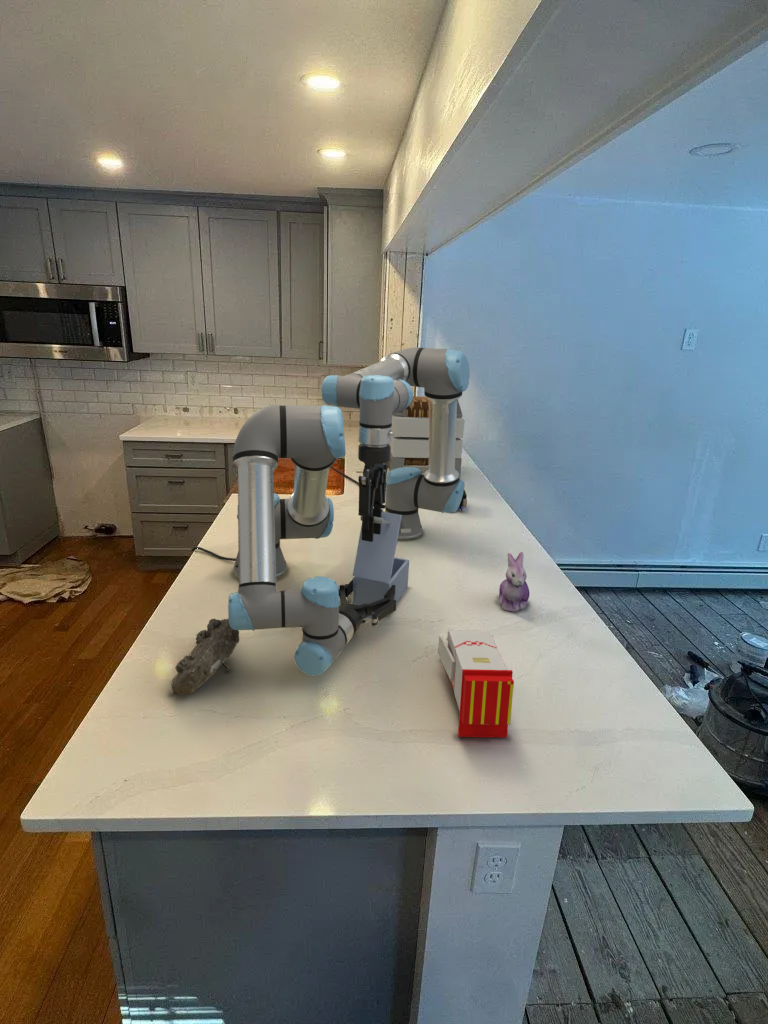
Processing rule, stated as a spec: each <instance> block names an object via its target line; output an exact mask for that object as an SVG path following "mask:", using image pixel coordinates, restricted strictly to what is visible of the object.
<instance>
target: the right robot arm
mask: <svg viewBox="0 0 768 1024" xmlns="http://www.w3.org/2000/svg"><path fill="white" fill-rule="evenodd" d="M470 372H471V371H470V363H469V359H468V357H467V355H466V353H465V352H463V351H461V350H455V349H451V348H431V347H409V348H404V349H400V350H397V351H394V352H391V353H389V354H386V355H384V356H383V357H382V359H381V360H380V361H378V362H375V363H373V364H371V365H369V366H366V367H363V368H361V369H359V370H355V371H354V372H351V373H349V374H346V375H339V374H336V375H334V374H331V375H327V376H326V377H325V378H324V379H323V380H322V384H321V391H320V392H321V399H322V401H323V403H325V405H327V406H335V407H338V408H348V409H359V422H358V440H357V441H358V442H359V444H358V451H357V453H358V455H357V459H358V461H360V462H362V463H364V467H363V470H362V475H359V476H358V477H357V479H358V481H357V480H356V479H354V478H352V477H350V476H348V475H347V474H346V473H344V472H341V471H340V470H338V469H337V468H335V467H333V465H332V466H330V467H329V469H332V470H333V471H335V472H336V473H338V474H339V475H341V476H343V477H344V478H347V479H348V480H350V481H352V482H353V483H355V484H357V485H358V516H360V517H361V516H362V521H361V526H362V540H364V541H369V542H373V534H379V535H380V534H381V524H378V523H374V517H380V518H381V513H382V512H386V513H392V514H398V515H402V517H401V523H400V528H399V534H398V540H397V541H410V540H415V539H418V538H420V537H421V536H422V535H423V525H422V524H421V518H420V515H419V509H420V510H427V511H433V512H438V513H441V514H454V513H456V512H457V511H458V507H459V505H460V502H461V500H462V496H463V492H464V490H465V481H464V480H462V479H460V480H459V473H458V471H457V470H455V446H456V418H457V400H458V401H459V399H460V398H461V397H462V396H463V392H465V391H467V389H468V388H469V384H470ZM412 387H417V388H423V389H424V390H423V391H424V392H423V393H424V397H426V398H428V399H429V465H428V468H427V469H426V470H424V473H423V474H422V470H421V468H419V467H416V466H404V467H403V468H397V469H393V470H391V471H390V470H389V471H388V468H389V467H388V465H385V464H384V463H387V462H388V461H389V460H390V453H391V447H390V445H389V444H390V443H391V436H392V435H393V432H391V427H392V414H393V413H396V412H400V411H402V410H404V409H405V408H407V407H408V406H409V405H410V404H411V402H412V399H413V396H414V392H413V391H414V390H413V389H412ZM383 509H384V511H383Z"/></svg>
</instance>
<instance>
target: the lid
mask: <svg viewBox="0 0 768 1024" xmlns="http://www.w3.org/2000/svg"><path fill="white" fill-rule="evenodd" d="M401 517H402V515H398V514H392V513H386V512H385V511H383V512H382V513H381V518H380V517H374V523H378V524H381V534H380V535H379V534H373V542H369V541H364V540H362V525H360V532H359V538H358V543H357V549H356V555H355V558H354V559H355V560H354V565H353V572H352V577H360V578H365V579H370V580H374V581H379V582H384V583H390V580H391V574H392V568H393V563H394V557H396V551H397V545H398V541H399V540H398V534H399V528H400V523H401ZM360 521H361V522H362V516H360Z"/></svg>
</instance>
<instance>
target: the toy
mask: <svg viewBox="0 0 768 1024" xmlns="http://www.w3.org/2000/svg"><path fill="white" fill-rule="evenodd" d="M446 640H447V643H446V641H445V639H444V636H443V635H442V634H439V637H438V646H437V656H438V657H439V659H440V661H441V663H442V666H443V668H444V670H445V672H446V674H447V677H448V679H449V681H450V684H451V687H452V690H453V693H454V697H455V701H456V705H457V708H458V711H459V714H458V715H459V716H458V730H457V731H458V732H457V737H458V738H508V731H509V726H510V725H511V717H512V707H513V697H514V696H513V695H514V684H515V680H514V679H513V673H514V671H513V670H512V669H508V667H507V665H506V662H505V661H504V659H503V658H502V655H501V653H500V651H499V649H498V647H497V643H496V639H495V637H494V635H493V634H491V632H490V631H489V629H467V628H466V629H465V628H463V629H461V628H460V629H459V628H448V630H447V639H446Z"/></svg>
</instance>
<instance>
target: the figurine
mask: <svg viewBox="0 0 768 1024" xmlns="http://www.w3.org/2000/svg"><path fill="white" fill-rule="evenodd" d="M506 556H507V569H506V571H505V579H504V580H502V581H501V583H500V585H499V591H498V592H499V593H498V597H497V598H498V600H497V601H498V604H499V605H500V606H501V607H502V609H503V610H505V611H507V612H508V611H509V612H518V611H520V610H521V611H522V610H524V609H525V608H526V607H527V605H528V601H529V599H530V588H529V585H528V584H527V581H526V580H527V571H526V570H525V567H524V552H523V551H520V552H519V553H518V555H517V557H516V559H515V557H514V556H513V554H512V553H511V552H508V553H507V555H506Z"/></svg>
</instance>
